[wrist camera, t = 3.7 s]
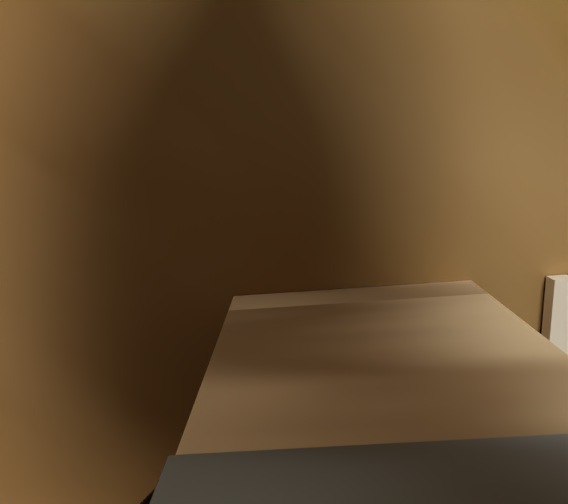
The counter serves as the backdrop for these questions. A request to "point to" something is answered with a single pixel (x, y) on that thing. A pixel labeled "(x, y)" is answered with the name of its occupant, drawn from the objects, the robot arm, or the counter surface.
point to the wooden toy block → (375, 403)
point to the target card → (556, 311)
